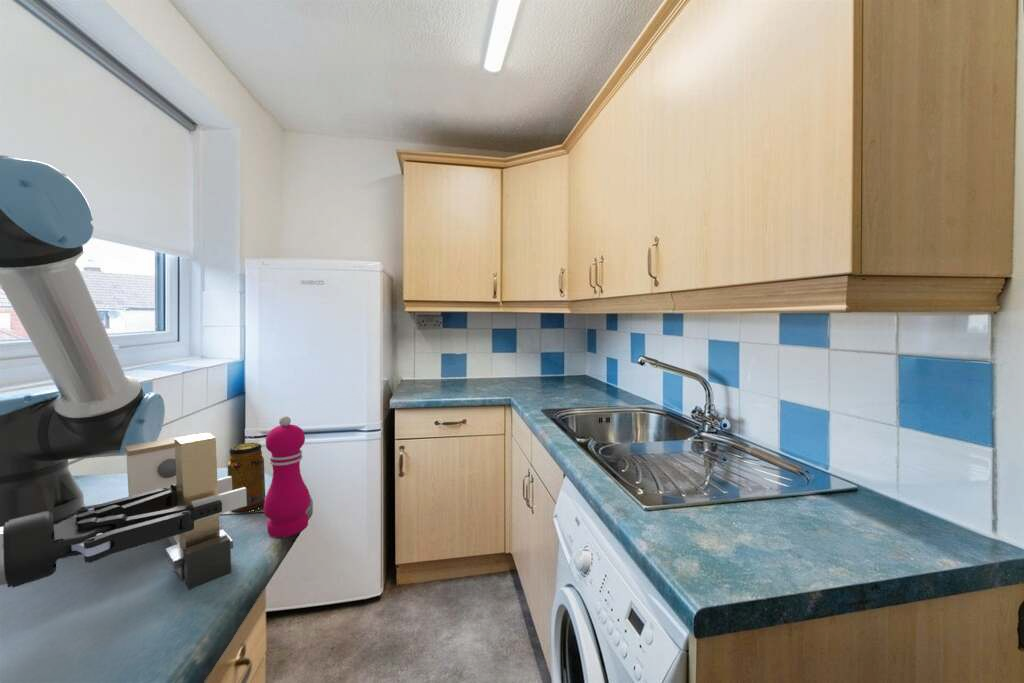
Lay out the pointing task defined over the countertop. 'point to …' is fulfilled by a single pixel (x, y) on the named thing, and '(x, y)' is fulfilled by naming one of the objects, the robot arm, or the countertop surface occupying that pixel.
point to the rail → (205, 560)
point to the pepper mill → (286, 481)
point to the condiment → (248, 475)
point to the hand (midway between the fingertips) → (238, 490)
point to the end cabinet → (151, 465)
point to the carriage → (195, 492)
